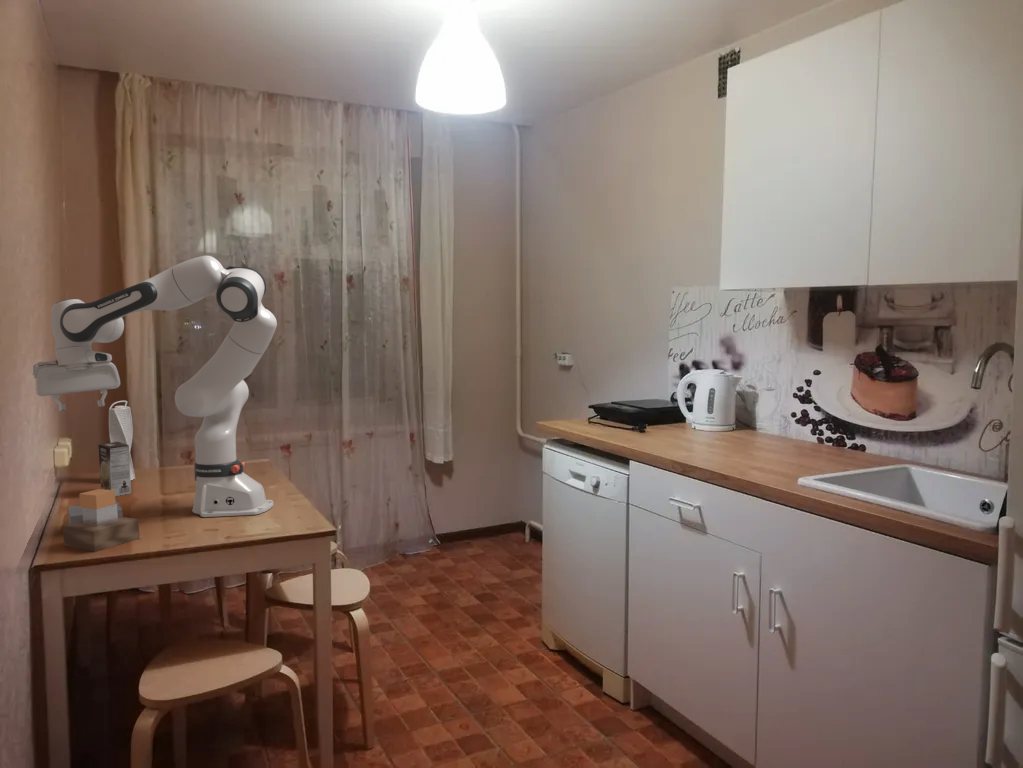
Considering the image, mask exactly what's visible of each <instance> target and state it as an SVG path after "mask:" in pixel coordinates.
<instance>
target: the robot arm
mask: <svg viewBox="0 0 1023 768" xmlns="http://www.w3.org/2000/svg"><path fill="white" fill-rule="evenodd" d="M266 291H267V284H266V280H265V278H264V276H263V274H262V273H261V272H259V270H257V269H255V268H252V267H248V266H247V267H245V266H227V267H226V268H224V267H223V265H222V264H221V262H220V261H219V260H218V259H217V258H215V257H214V256H211V255H201V256H198V257H197V256H196V257H194V258H191V259H187V260H185V261H183V262H180V263H177V264H175V265H174V266H172V267H169V268H168V269H165V270H164V271H161V272H160V273H158V274H156V275H153V276H151V277H149V278H147V279H145V280H142V281H140V282H138V283H136V284H134V285H132V286H131V285H130V287H129V286H128V287H126V288H123V289H121V290H118V291H117V292H113V293H112V294H109V295H107V296H106V295H105V296H104V297H102V298H99V299H96V300H95V301H91V302H84V300H81V299H77V298H69V299H63V300H59V301H57V302H55V303H54V304H53V305H52V307H51V311H50V325H51V326H50V327H51V332H52V333H51V334H52V336H53V338H54V341H55V342H54V344H55V345H54V351H55V352H54V353H55V359H56V360H48V361H37V363H35V364H34V365H33V366H32V367H33V374H32V376H33V375H34V377H33V378H34V379H35V393H36V395H37V396H38V397H49V396H51V398H52V401H54V403H55V404H56V405H58V406H57V407H58V411H59V412H65V411H67V407H66V403H63V404H62V402H61V401H60V400H59V399H60V395H67V394H76V393H86V392H95V391H99V392H100V395H101V398H100V399H98V400H96V404H97V407H98V408H99V407H101V408H102V407H105V405H106V403H105V399H106V397H107V395H108V390H112V389H113V390H114V389H115V390H116V389H118V388H119V387H120V386H121V379H120V375H119V371H118V369H117V366H116V365H115V364H114V363H113V362H111V361H112V360H113V356H112V354H110V353H107V352H102V351H96V350H93V348H92V344H93V343H101V344H108V343H112V342H116V341H117V340H119V339H120V338H121V337H122V336H123V333H124V332H125V320H124V318H123V317H126V316H128V315H130V314H134V313H136V312H141V311H143V312H144V311H175V310H180V309H183V308H186V307H189V306H191V305H193V304H195V303H197V302H199V301H201V300H203V299H205V298H208V297H213V296H214V297H216V302H217V305H218V306H219V308H220V310H222V311H223V312H224V313H225V314H227V315H228V316H229V317H230V318H231V319H232V320H233V321H234V323H233V325H232V326H231V328H230V330H229V332H227V335H226V336H225V338H224V339H223V341H222V343H221V344H220V346H219V347H218V348H217V350H216V352H215V353H214V354H213V356H212V357H211V358H210V359H208V361H207V362H206V363H205V364H204V365H203V366H201V368H200V369H198V371H197V372H196V373H195V374H194V375H193V376H192V377H191V378H189V379H188V380H186V381H185V382H183V383H182V384H180V386H178V388H177V389H176V390H175V393H174V402H175V403H174V404H175V406H176V408H177V410H178V411H179V412H180V413H181V414H182V415H184V416H186V417H194V418H203V420H202V423H201V425H200V427H199V429H198V430H197V432H196V433H195V436H194V449H195V450H194V451H195V462H194V472H193V473H194V480H195V496H194V502H193V506H192V509H191V511H192V513H193V514H196V515H199V516H200V517H202V518H212V517H213V518H214V517H215V518H216V517H232V516H233V517H234V516H235V517H236V516H254V515H259V514H262V513H264V512H267V511H269V510H270V509H272V508H273V507H274V500H272V499H266V494H265V493H266V492H265V489H264V487H263V485H262V484H261V483H260V482H259V481H257V480H255V479H254V478H252V477H251V476H249V475H248V474H246V473H245V472H244V467H245V466H246V465H245V464H246V462H245V461H243V462H240V461H239V460H238V459H237V440H236V438H237V427H238V424H239V420H240V415H241V412H242V410H243V407H244V405H245V404H246V402H247V401H248V399H249V394H250V390H249V387H248V384H247V382H246V381H245V379H246V378H247V377H249V375H251V374H252V373H253V371H254V370H255V367H257V365H258V363H259V361H260V360H261V358H262V357H263V356H264V354H265V352H266V351H267V348H268V347H269V345H270V344H271V341H272V339H273V337H274V334H275V332H276V329H277V327H278V322H277V318H276V316H275V314H273V312H271V311H270V310H269V309H267V308H265V306H264V305H263V303H262V299H263V297H264V296H265V293H266Z"/></svg>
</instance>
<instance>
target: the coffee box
mask: <svg viewBox="0 0 1023 768" xmlns="http://www.w3.org/2000/svg"><path fill="white" fill-rule="evenodd" d="M97 446H98V455H99V456H98V457H99V459H98V461H99V472H100V473H99V475H100V489H105V490H115V497H120V495H121V496H126V495H131V494H132V486H131V485H132V481H131V480H130V460H129V445H127V444H124V443H121V442H112V443H111V442H106V443H99V444H98V445H97ZM125 494H126V495H125Z"/></svg>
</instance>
